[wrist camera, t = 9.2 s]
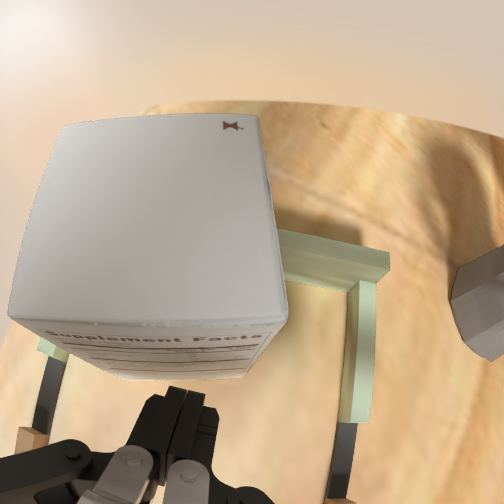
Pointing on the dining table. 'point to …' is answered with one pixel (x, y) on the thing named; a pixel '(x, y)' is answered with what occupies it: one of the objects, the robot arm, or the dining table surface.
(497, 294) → the coffeepot
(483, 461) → the dining table surface
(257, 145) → the supplement box
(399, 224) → the dining table surface
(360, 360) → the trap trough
